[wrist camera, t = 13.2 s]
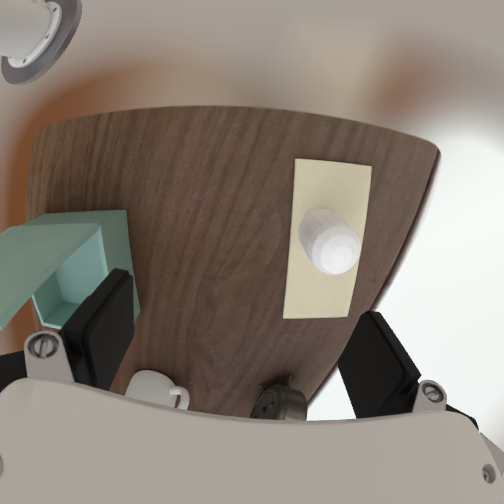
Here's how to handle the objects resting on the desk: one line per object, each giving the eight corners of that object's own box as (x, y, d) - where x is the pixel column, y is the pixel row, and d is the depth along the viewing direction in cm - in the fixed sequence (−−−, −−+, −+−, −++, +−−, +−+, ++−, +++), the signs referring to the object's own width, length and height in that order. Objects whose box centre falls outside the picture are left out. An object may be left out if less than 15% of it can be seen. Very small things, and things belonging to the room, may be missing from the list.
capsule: (333, 257, 32) (356, 289, 25) (291, 246, 31) (305, 278, 24) (348, 215, 30) (377, 237, 23) (305, 202, 30) (325, 221, 22)
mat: (294, 158, 28) (295, 158, 28) (369, 166, 29) (371, 166, 28) (282, 316, 36) (283, 318, 35) (346, 314, 36) (347, 316, 35)
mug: (180, 359, 38) (167, 412, 29) (205, 391, 41) (199, 441, 32) (123, 372, 40) (104, 416, 30) (150, 401, 43) (137, 444, 33)
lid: (2, 330, 10) (-3, 319, 10) (-68, 299, 10) (-71, 292, 9) (99, 230, 24) (97, 222, 23) (12, 232, 23) (11, 226, 23)
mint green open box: (140, 311, 35) (124, 340, 29) (63, 302, 35) (42, 325, 29) (126, 209, 30) (100, 225, 24) (43, 213, 30) (14, 228, 23)
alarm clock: (268, 408, 43) (274, 486, 28) (241, 401, 42) (240, 482, 27) (302, 372, 40) (321, 460, 25) (273, 363, 39) (283, 456, 24)
